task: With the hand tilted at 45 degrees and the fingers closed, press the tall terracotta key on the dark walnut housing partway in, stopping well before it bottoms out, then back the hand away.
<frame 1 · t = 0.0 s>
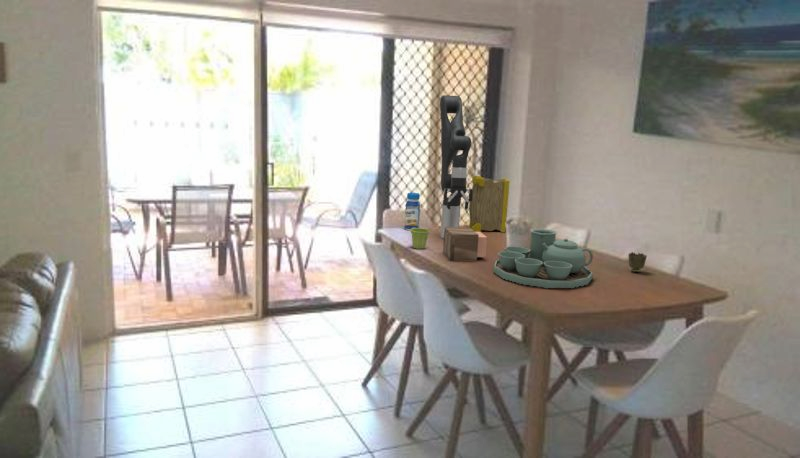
hand: (457, 209, 306), 17 cm above the table, tool pointing down, fingers open, 8 cm apart
decorative book: (486, 230, 347), on the table
tea set: (542, 276, 256), on the table
key: (472, 244, 282), point 6 cm above the table, slide at 0.0 cm
key housing: (459, 256, 282), on the table
beverage bottle: (411, 229, 340), on the table
plant pot: (419, 248, 296), on the table
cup: (635, 272, 269), on the table
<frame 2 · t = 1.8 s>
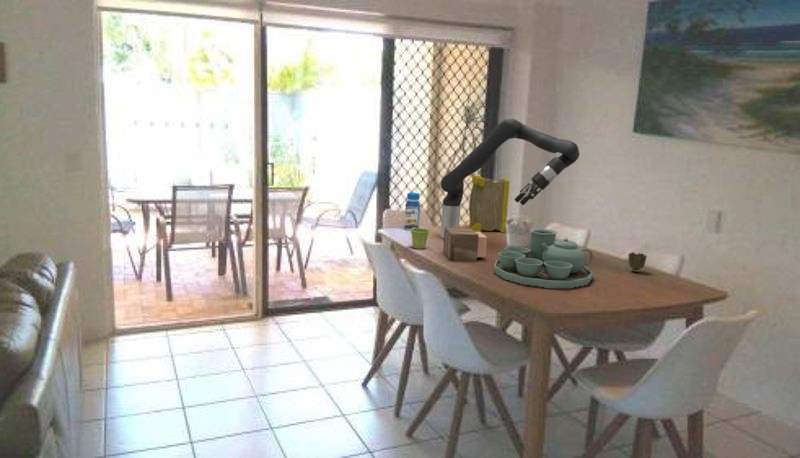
hand: (518, 202, 280), 26 cm above the table, tool tilted 45°, fingers open, 8 cm apart
nothing on the table moved.
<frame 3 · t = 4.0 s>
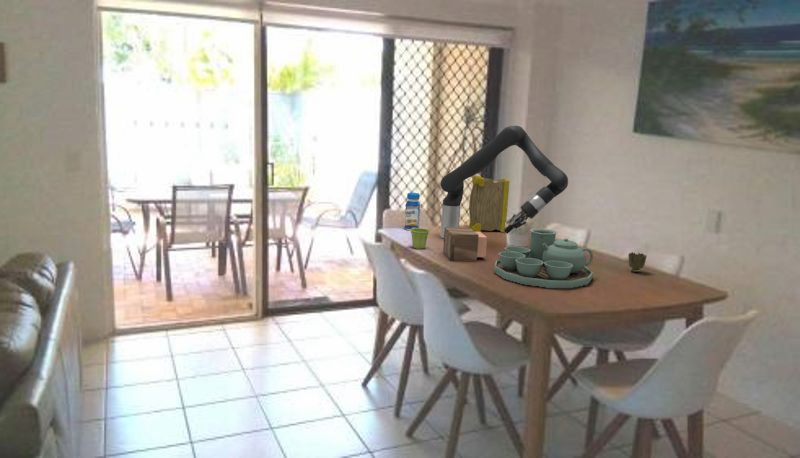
hand: (505, 232, 283), 12 cm above the table, tool tilted 45°, fingers closed
nothing on the table moved.
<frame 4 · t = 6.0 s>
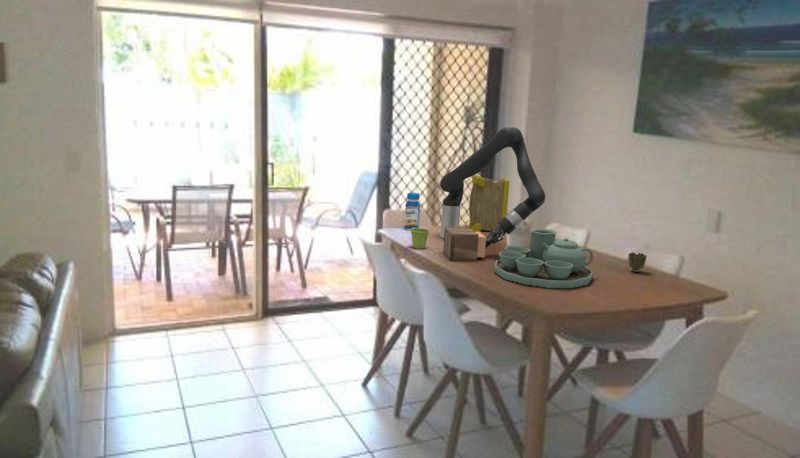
hand: (482, 247, 283), 4 cm above the table, tool tilted 45°, fingers closed
key: (471, 244, 282), point 6 cm above the table, slide at 0.4 cm, touching gripper
everything else where it was.
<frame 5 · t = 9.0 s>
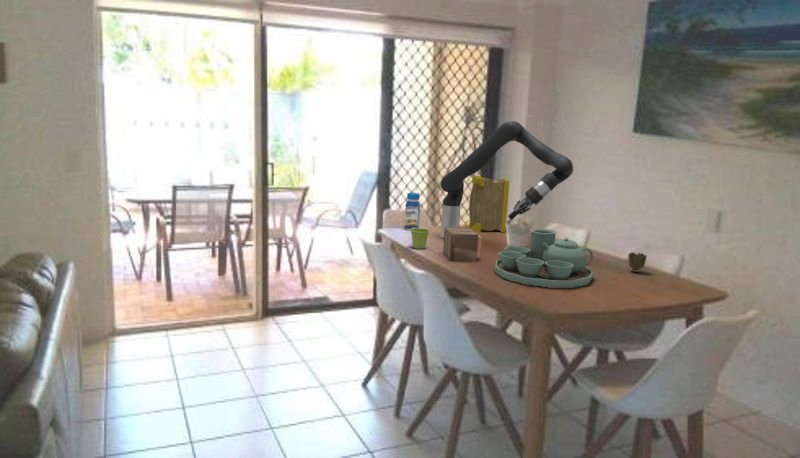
hand: (509, 218, 281), 18 cm above the table, tool tilted 45°, fingers closed
key: (467, 244, 281), point 6 cm above the table, slide at 2.6 cm
everything else where it was.
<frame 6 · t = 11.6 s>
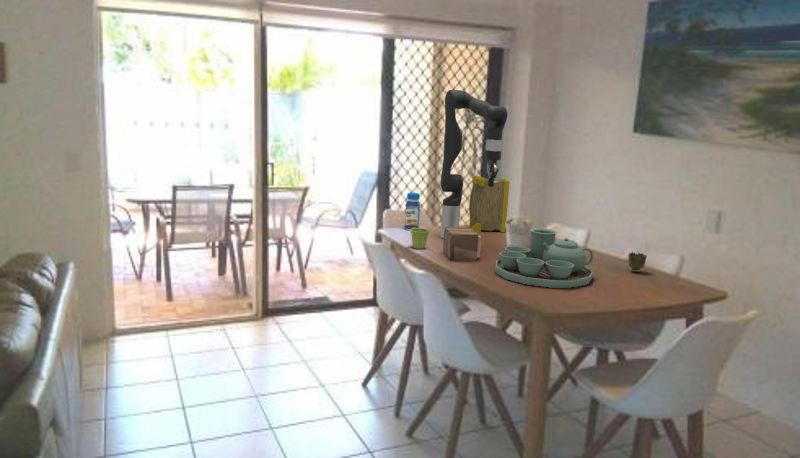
hand: (490, 186, 291), 31 cm above the table, tool pointing down, fingers closed
at the end: key slide at 2.6 cm; plant pot moved 0.2 cm from its start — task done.
